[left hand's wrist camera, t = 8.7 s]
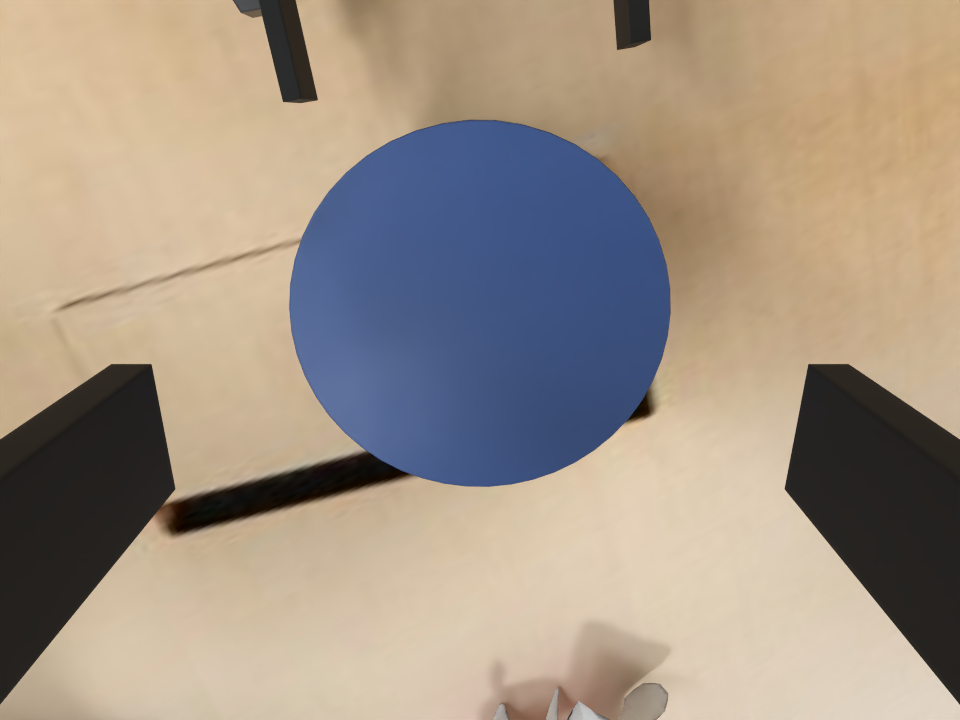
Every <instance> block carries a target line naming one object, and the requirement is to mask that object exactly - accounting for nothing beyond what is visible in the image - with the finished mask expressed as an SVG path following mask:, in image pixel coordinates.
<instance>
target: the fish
mask: <svg viewBox="0 0 960 720" xmlns="http://www.w3.org/2000/svg"><path fill="white" fill-rule="evenodd" d="M558 694H559V690H558V689H557V688H556V690H555V693H554V696H553V699H552V701H551V704H550V707H549V710H548V713H547V717H546V720H558ZM667 701H668V693H667V692H666V690H665V689H664V688H663V687H662V686H661V684H656V683H643V684H642V685H640V686H639V687H637V688H636V689H634V690H633V691H632V692H631V693H630V694H629V695H628V696H627V697H626V698H625V700H624V706H623V710H622V712H621V714H620V716H619V718H618V719H617V720H656V719H657V718H658V717H659V716H660V715H661V714H662V713H663V712H664V711H665V708H666V705H667ZM493 720H510V719H509V717H508V714H507V711H506V708H505V705H504V704H500V705H499V707H498V709H497V711H496V713H495V716H494V718H493ZM567 720H609V719H607V718H605V717H603V716H601V715H599V714H597V713H595V712H593V711H592V710H591V709H589V708H588V707H587V706H585V705H584V704H582V703H581V702H580V701H578V702H577V704H576V705H575V707H574V709H573V710H572V712H571V713H570V715H569V717H568V719H567Z"/></svg>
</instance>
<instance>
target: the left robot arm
mask: <svg viewBox="0 0 960 720" xmlns="http://www.w3.org/2000/svg"><path fill="white" fill-rule="evenodd" d="M174 490H175V485H174V480H173V474H172V469H171V464H170V459H169V453H168V448H167V443H166V438H165V432H164V427H163V422H162V417H161V412H160V406H159V401H158V396H157V391H156V385H155V380H154V375H153V370H152V364H111V365H110V366H108V367H107V368H105V369H104V370H102V371H101V372H99V373H98V374H96V375H95V376H93V377H92V378H90V379H89V380H87V381H86V382H84V383H83V384H82V385H80V386H79V387H77V388H76V389H74V390H73V391H71V392H70V393H68V394H67V395H65V396H64V397H62V398H61V399H59V400H58V401H56V402H55V403H53V404H52V405H50V406H49V407H48V408H46V409H45V410H43V411H42V412H40V413H39V414H37V415H36V416H34V417H33V418H31V419H30V420H28V421H27V422H25V423H24V424H22V425H21V426H19V427H18V428H17V429H15V430H14V431H12V432H11V433H9V434H8V435H6V436H5V437H3V438H2V439H0V704H1V703H2V702H3V700H4V699H5V698H6V697H7V695H8V694H9V693H10V692H11V690H12V689H13V688H14V687H15V686H16V684H17V683H18V682H19V681H20V679H21V678H22V677H23V676H24V675H25V673H26V672H27V671H28V670H29V668H30V667H31V666H32V665H33V663H34V662H35V661H36V660H37V659H38V657H39V656H40V655H41V654H42V652H43V651H44V650H45V649H46V647H47V646H48V645H49V644H50V643H51V641H52V640H53V639H54V638H55V636H56V635H57V634H58V633H59V631H60V630H61V629H62V628H63V627H64V625H65V624H66V623H67V622H68V620H69V619H70V618H71V617H72V616H73V614H74V613H75V612H76V611H77V609H78V608H79V607H80V606H81V604H82V603H83V602H84V601H85V600H86V598H87V597H88V596H89V595H90V593H91V592H92V591H93V590H94V588H95V587H96V586H97V585H98V584H99V582H100V581H101V580H102V579H103V577H104V576H105V575H106V574H107V573H108V571H109V570H110V569H111V568H112V566H113V565H114V564H115V563H116V561H117V560H118V559H119V558H120V557H121V555H122V554H123V553H124V552H125V550H126V549H127V548H128V547H129V545H130V544H131V543H132V542H133V541H134V539H135V538H136V537H137V536H138V534H139V533H140V532H141V531H142V529H143V528H144V527H145V526H146V525H147V523H148V522H149V521H150V520H151V518H152V517H153V516H154V515H155V514H156V512H157V511H158V510H159V509H160V507H161V506H162V505H163V504H164V502H165V501H166V500H167V499H168V498H169V496H170V495H171V494H172V493H173V491H174ZM785 490H786V491H787V493H788V494H789V495H790V496H791V498H792V499H793V500H794V501H795V502H796V504H797V505H798V506H799V507H800V509H801V510H802V511H803V512H804V514H805V515H806V516H807V517H808V518H809V520H810V521H811V522H812V523H813V525H814V526H815V527H816V528H817V529H818V531H819V532H820V533H821V534H822V536H823V537H824V538H825V539H826V541H827V542H828V543H829V544H830V545H831V547H832V548H833V549H834V550H835V552H836V553H837V554H838V555H839V557H840V558H841V559H842V560H843V561H844V563H845V564H846V565H847V566H848V568H849V569H850V570H851V571H852V573H853V574H854V575H855V576H856V577H857V579H858V580H859V581H860V582H861V584H862V585H863V586H864V587H865V588H866V590H867V591H868V592H869V593H870V595H871V596H872V597H873V598H874V600H875V601H876V602H877V603H878V604H879V606H880V607H881V608H882V609H883V611H884V612H885V613H886V614H887V616H888V617H889V618H890V619H891V620H892V622H893V623H894V624H895V625H896V627H897V628H898V629H899V630H900V631H901V633H902V634H903V635H904V636H905V638H906V639H907V640H908V641H909V643H910V644H911V645H912V646H913V647H914V649H915V650H916V651H917V652H918V654H919V655H920V656H921V657H922V659H923V660H924V661H925V662H926V663H927V665H928V666H929V667H930V668H931V670H932V671H933V672H934V673H935V675H936V676H937V677H938V678H939V679H940V681H941V682H942V683H943V684H944V686H945V687H946V688H947V689H948V690H949V692H950V693H951V694H952V695H953V697H954V698H955V699H956V700H957V702H958V703H959V704H960V439H958V438H957V437H955V436H954V435H952V434H951V433H949V432H948V431H946V430H945V429H943V428H942V427H941V426H939V425H938V424H936V423H935V422H933V421H932V420H930V419H929V418H927V417H926V416H924V415H923V414H921V413H920V412H918V411H917V410H915V409H914V408H912V407H911V406H910V405H908V404H907V403H905V402H904V401H902V400H901V399H899V398H898V397H896V396H895V395H893V394H892V393H890V392H889V391H887V390H886V389H884V388H883V387H881V386H880V385H878V384H877V383H876V382H874V381H873V380H871V379H870V378H868V377H867V376H865V375H864V374H862V373H861V372H859V371H858V370H856V369H855V368H853V367H852V366H850V365H849V364H808V370H807V375H806V380H805V385H804V391H803V396H802V401H801V406H800V411H799V417H798V422H797V427H796V432H795V438H794V443H793V448H792V453H791V459H790V464H789V469H788V474H787V480H786V485H785Z"/></svg>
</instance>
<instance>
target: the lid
mask: <svg viewBox="0 0 960 720" xmlns="http://www.w3.org/2000/svg"><path fill="white" fill-rule="evenodd" d="M289 309H290V320H291V331H292V336H293V340H294V344H295V348H296V353H297V356H298V359H299V361H300V364H301V367H302V369H303V372H304V375H305V377H306V379H307V381H308V383H309V385H310V387H311V388H312V390H313V392H314V394H315V396H316V398H317V399H318V400H319V402H320V403H321V405H322V406H323V408H324V409H325V410H326V412H327V413H328V415H329V416H330V417H331V418H332V419H333V420H334V421H335V423H336V424H337V425H338V426H339V427H340V428H341V429H342V430H343V431H344V432H345V433H346V434H347V435H348V436H349V437H350V438H352V439H353V440H354V441H355V442H356V443H357V444H359V445H360V446H361V447H362V448H364V449H365V450H367V451H368V452H370V453H371V454H373V455H374V456H376V457H377V458H379V459H380V460H382V461H384V462H386V463H388V464H390V465H392V466H394V467H396V468H397V469H399V470H402V471H404V472H407V473H410V474H412V475H415V476H418V477H420V478H424V479H428V480H432V481H436V482H440V483H444V484H452V485H460V486H482V487H490V486H500V485H509V484H515V483H520V482H524V481H529V480H533V479H536V478H539V477H542V476H545V475H548V474H551V473H554V472H556V471H558V470H560V469H562V468H564V467H566V466H569V465H571V464H573V463H575V462H576V461H578V460H580V459H581V458H583V457H584V456H586V455H588V454H589V453H591V452H592V451H594V450H595V449H596V448H598V447H599V446H600V445H601V444H603V443H604V442H605V441H606V440H607V439H609V438H610V437H611V436H612V435H613V434H614V433H615V432H616V431H617V430H618V429H619V428H620V427H621V426H622V425H623V424H624V423H625V422H626V421H627V420H628V418H629V417H630V416H631V414H632V413H633V412H634V410H635V409H636V408H637V406H638V405H639V404H640V402H641V401H642V399H643V397H644V396H645V394H646V392H647V390H648V388H649V387H650V385H651V383H652V381H653V379H654V377H655V374H656V372H657V369H658V367H659V364H660V362H661V360H662V356H663V352H664V348H665V344H666V341H667V337H668V329H669V321H670V285H669V278H668V272H667V265H666V261H665V258H664V255H663V251H662V248H661V245H660V242H659V239H658V237H657V235H656V232H655V230H654V228H653V226H652V224H651V222H650V220H649V217H648V216H647V214H646V213H645V211H644V210H643V208H642V207H641V205H640V203H639V202H638V200H637V199H636V197H635V196H634V195H633V193H632V192H631V191H630V190H629V189H628V188H627V187H626V185H625V184H624V183H623V182H622V181H621V180H620V179H619V177H618V176H617V175H616V174H614V173H613V172H612V171H611V170H610V169H609V168H607V167H606V166H605V165H604V164H603V163H602V162H601V161H599V160H598V159H597V158H595V157H594V156H592V155H591V154H589V153H588V152H586V151H585V150H583V149H581V148H580V147H578V146H577V145H575V144H573V143H571V142H569V141H567V140H565V139H563V138H560V137H558V136H556V135H554V134H552V133H549V132H546V131H543V130H539V129H536V128H533V127H529V126H526V125H522V124H517V123H511V122H504V121H498V120H464V121H456V122H448V123H442V124H439V125H435V126H431V127H428V128H424V129H420V130H417V131H414V132H411V133H409V134H407V135H404V136H402V137H400V138H397V139H395V140H393V141H390V142H389V143H387V144H385V145H384V146H382V147H380V148H379V149H377V150H375V151H374V152H372V153H370V154H369V155H367V156H366V157H365V158H363V159H362V160H361V161H360V162H359V163H357V164H356V165H355V166H354V167H352V168H351V169H350V170H349V171H348V172H346V173H345V175H344V176H343V177H342V178H341V179H340V180H339V181H338V182H337V183H336V184H335V185H334V186H333V188H332V189H331V190H330V191H329V192H328V193H327V195H326V196H325V198H324V199H323V201H322V202H321V204H320V205H319V206H318V208H317V209H316V211H315V212H314V214H313V216H312V218H311V220H310V222H309V224H308V226H307V228H306V230H305V232H304V234H303V236H302V239H301V242H300V245H299V248H298V251H297V254H296V257H295V261H294V267H293V272H292V278H291V283H290V304H289Z"/></svg>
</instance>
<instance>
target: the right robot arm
mask: <svg viewBox="0 0 960 720" xmlns="http://www.w3.org/2000/svg"><path fill="white" fill-rule="evenodd" d="M233 1H234V3H235V4H236V6H237V7H238V9H239V11H240V12H241V13H243V14H245V15H248V16H250V17H252V18H254V17H259V16H262V17H263V21H264V25H265V29H266V33H267V37H268V41H269V46H270V50H271V54H272V58H273V62H274V66H275V70H276V74H277V79H278V83H279V87H280V91H281V95H282V99H283V102H293V103H304V102H310V101H316V100H318V98H317V94H316V89H315V85H314V81H313V76H312V72H311V67H310V63H309V58H308V54H307V49H306V45H305V40H304V36H303V32H302V27H301V23H300V18H299V14H298V9H297V5H296V0H233ZM614 13H615V27H616V41H617V50H620V49H626V48H632V47H636V46H638V45H641V44H643V43H645V42H648V41H650V40H651V31H650V13H649V0H614Z"/></svg>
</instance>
